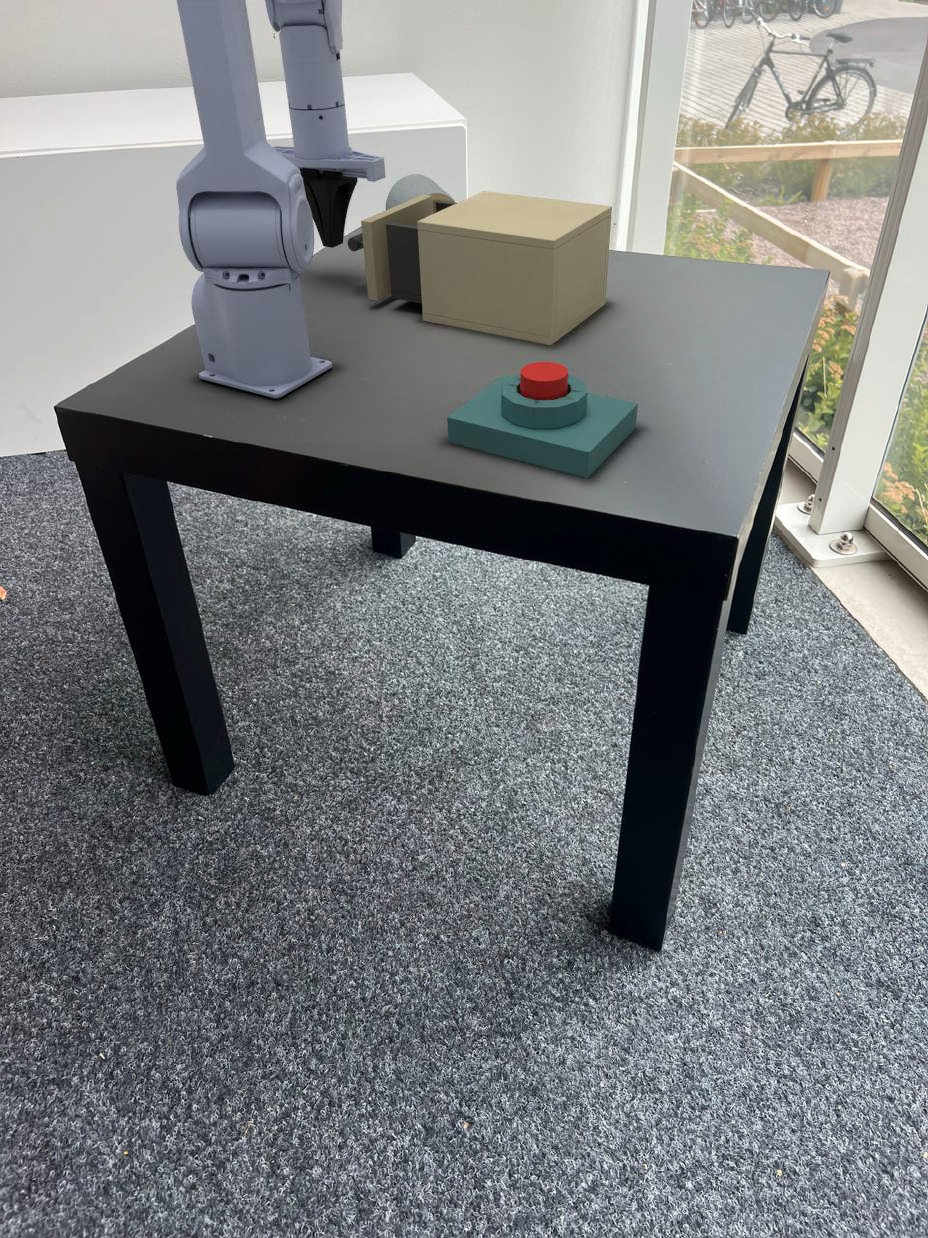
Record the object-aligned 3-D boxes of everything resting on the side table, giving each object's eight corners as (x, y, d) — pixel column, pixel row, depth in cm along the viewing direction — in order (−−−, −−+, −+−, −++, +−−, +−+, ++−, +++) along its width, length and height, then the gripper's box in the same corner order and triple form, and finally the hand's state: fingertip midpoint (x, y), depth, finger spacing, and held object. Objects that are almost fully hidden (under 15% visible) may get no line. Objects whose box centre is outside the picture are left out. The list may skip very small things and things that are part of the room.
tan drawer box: (422, 320, 90) (416, 220, 84) (484, 283, 98) (483, 190, 92) (550, 345, 84) (554, 240, 78) (605, 304, 92) (612, 205, 86)
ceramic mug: (410, 261, 105) (406, 191, 101) (386, 243, 111) (382, 176, 107) (490, 249, 109) (490, 181, 104) (463, 232, 115) (462, 167, 110)
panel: (448, 442, 69) (445, 394, 67) (503, 398, 75) (503, 353, 73) (587, 479, 64) (590, 428, 62) (635, 428, 70) (640, 381, 68)
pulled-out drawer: (336, 293, 95) (327, 215, 90) (396, 263, 102) (391, 190, 97) (478, 320, 87) (477, 237, 82) (532, 285, 95) (534, 207, 90)
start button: (511, 396, 67) (511, 375, 66) (533, 379, 70) (534, 358, 68) (554, 406, 66) (555, 384, 65) (575, 388, 68) (576, 366, 67)
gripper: (397, 102, 90) (407, 243, 98) (287, 94, 96) (305, 227, 104) (356, 115, 85) (369, 260, 93) (243, 105, 91) (265, 243, 100)
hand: (333, 244), depth 99 cm, fingers closed
